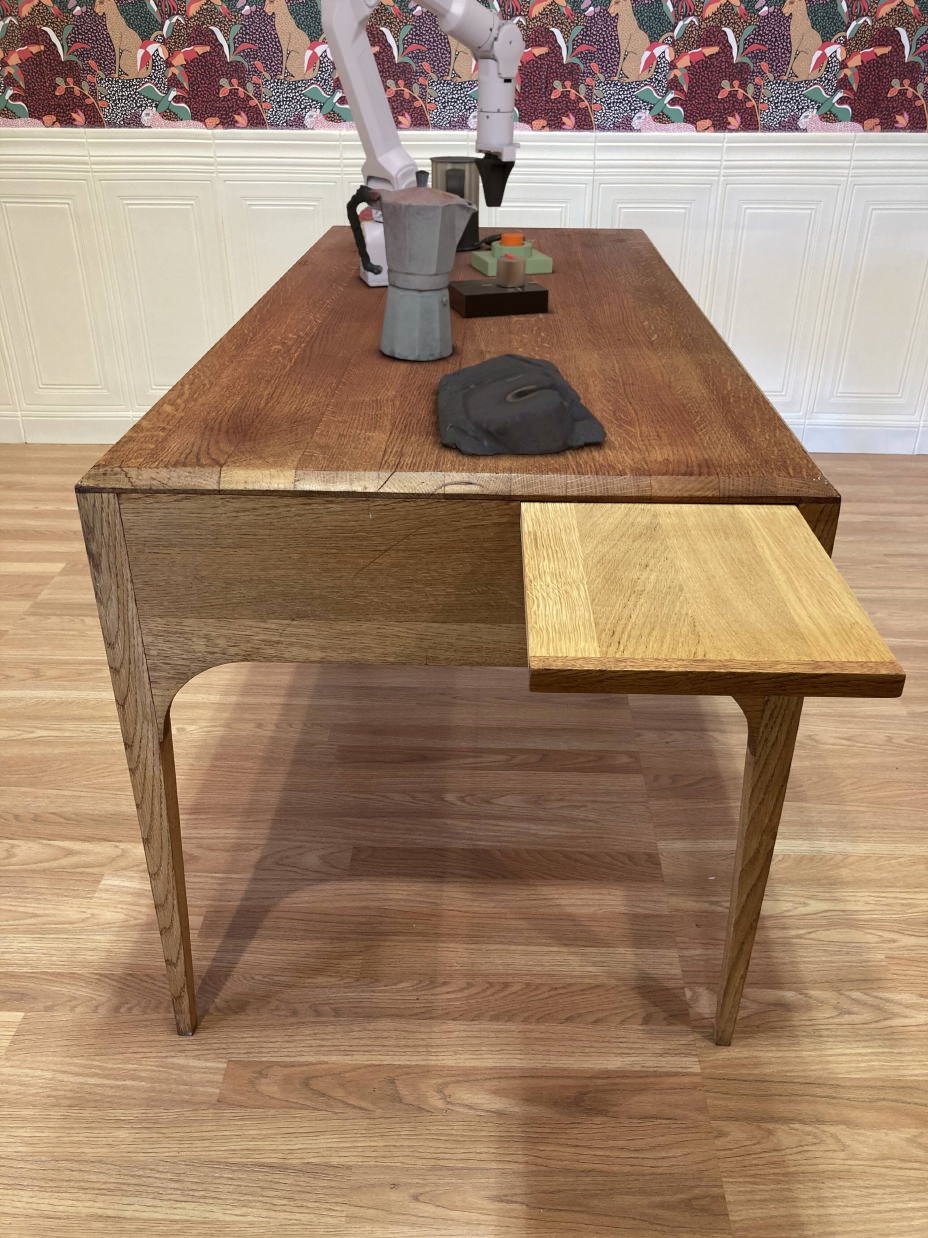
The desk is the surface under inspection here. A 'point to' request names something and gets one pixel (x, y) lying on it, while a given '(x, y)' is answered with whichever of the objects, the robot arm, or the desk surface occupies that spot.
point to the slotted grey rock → (513, 409)
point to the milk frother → (461, 193)
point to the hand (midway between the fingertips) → (493, 206)
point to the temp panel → (496, 298)
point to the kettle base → (534, 259)
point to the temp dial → (510, 271)
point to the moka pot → (415, 264)
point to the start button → (512, 239)
